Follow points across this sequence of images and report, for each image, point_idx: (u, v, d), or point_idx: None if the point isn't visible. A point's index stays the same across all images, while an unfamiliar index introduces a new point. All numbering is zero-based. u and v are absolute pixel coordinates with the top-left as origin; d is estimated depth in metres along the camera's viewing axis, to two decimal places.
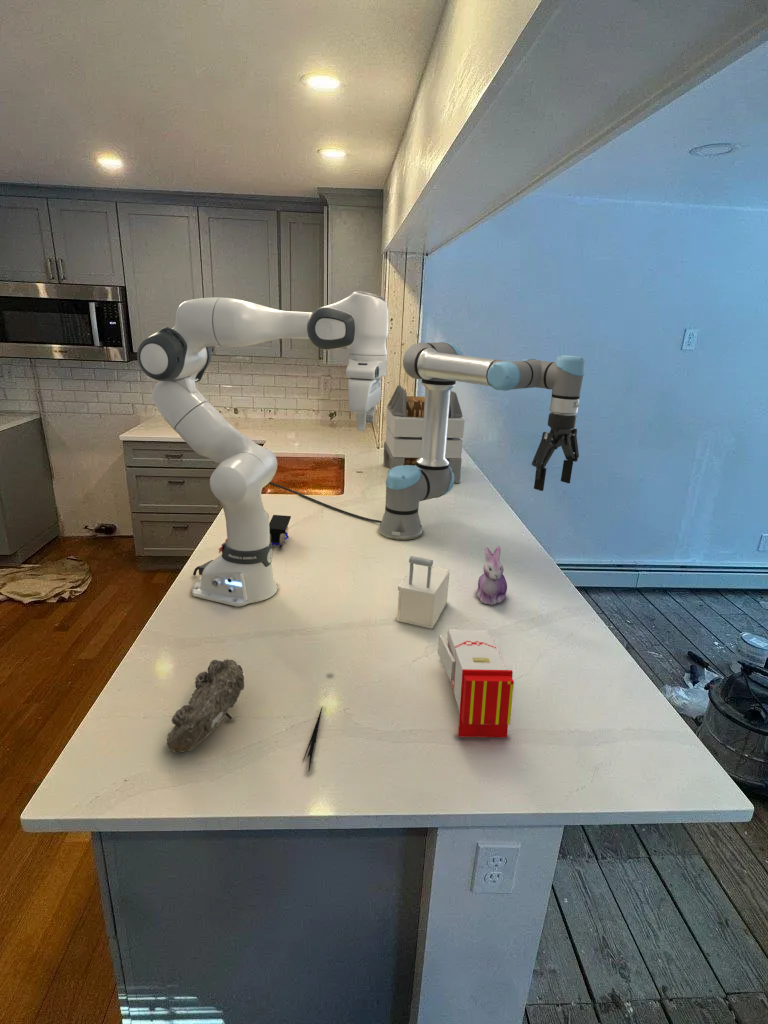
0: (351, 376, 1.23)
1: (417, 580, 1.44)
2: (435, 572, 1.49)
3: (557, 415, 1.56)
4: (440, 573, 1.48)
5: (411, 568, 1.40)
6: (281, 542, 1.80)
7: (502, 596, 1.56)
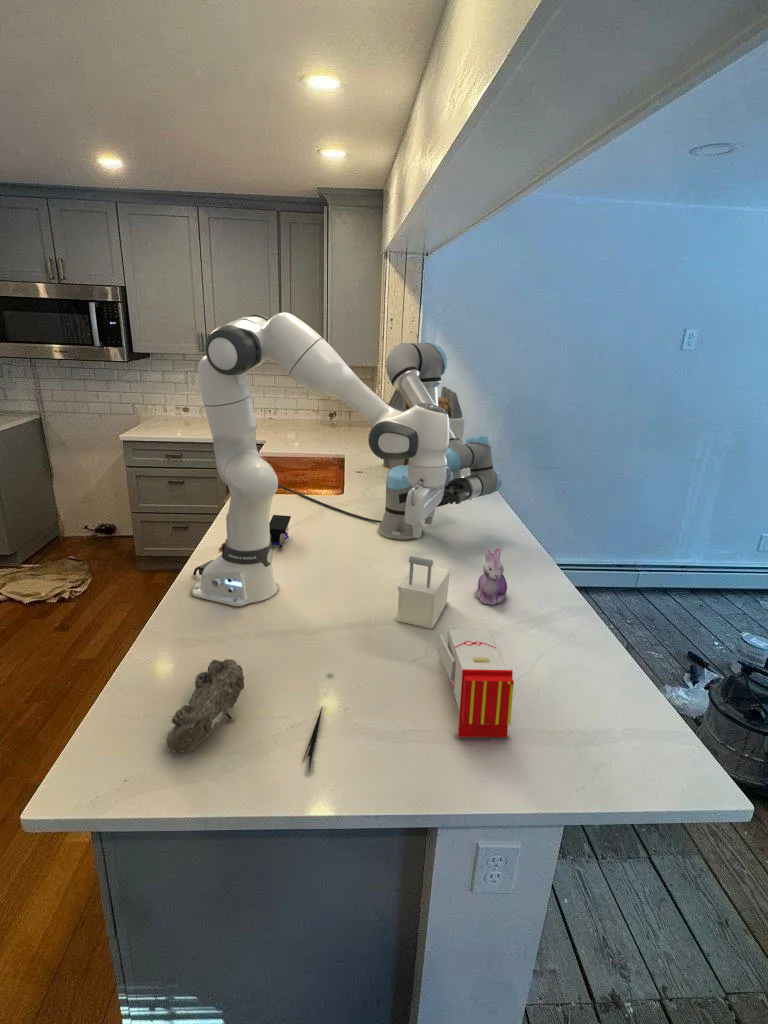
0: None
1: (417, 580, 1.44)
2: (435, 572, 1.49)
3: None
4: (440, 573, 1.48)
5: (411, 568, 1.40)
6: (281, 542, 1.80)
7: (502, 596, 1.56)
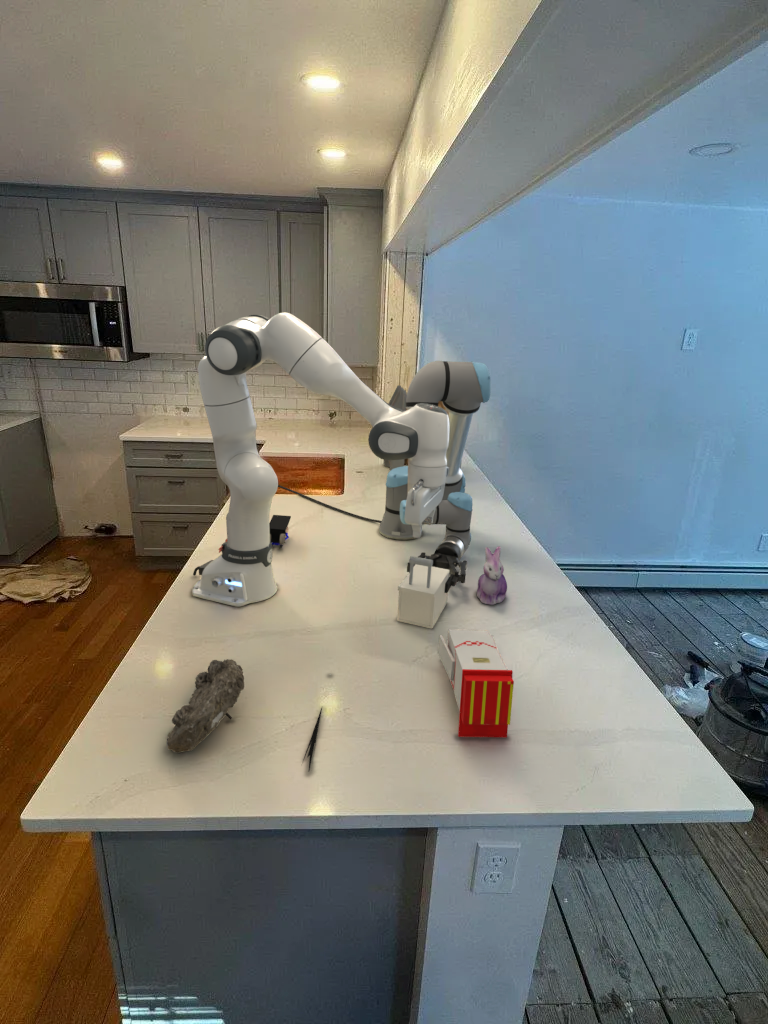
0: None
1: (417, 580, 1.44)
2: (435, 572, 1.49)
3: None
4: (440, 573, 1.48)
5: (411, 568, 1.40)
6: (281, 542, 1.80)
7: (502, 596, 1.56)
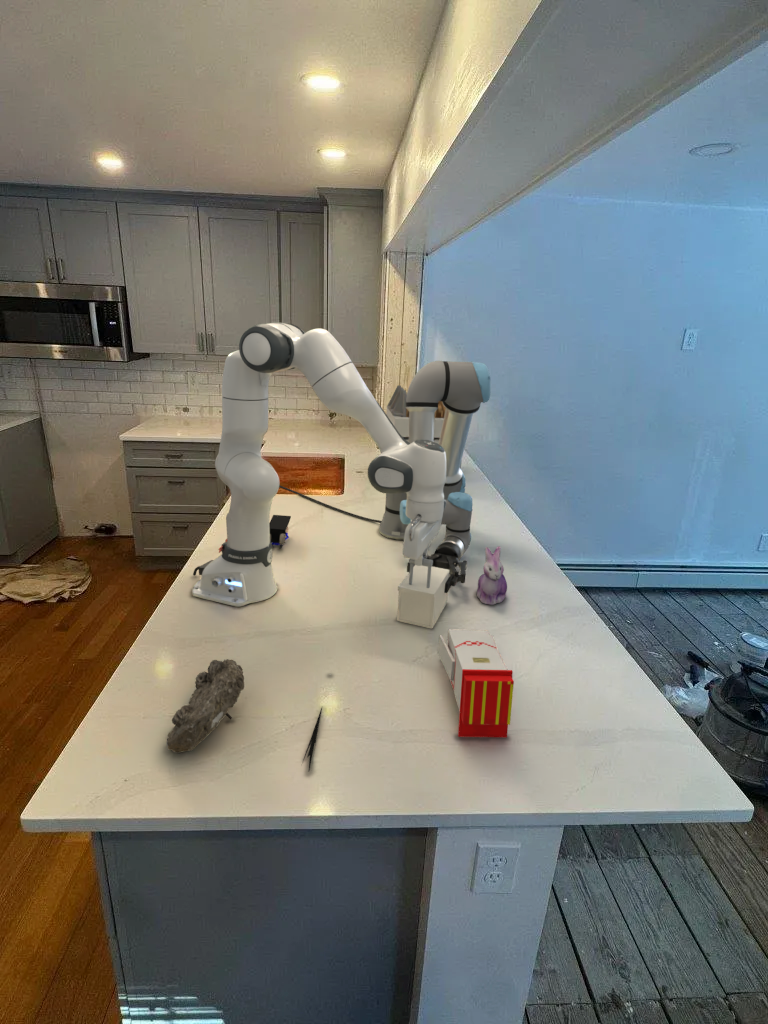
0: None
1: (417, 580, 1.44)
2: (435, 572, 1.49)
3: None
4: (440, 573, 1.48)
5: (411, 568, 1.40)
6: (281, 542, 1.80)
7: (502, 596, 1.56)
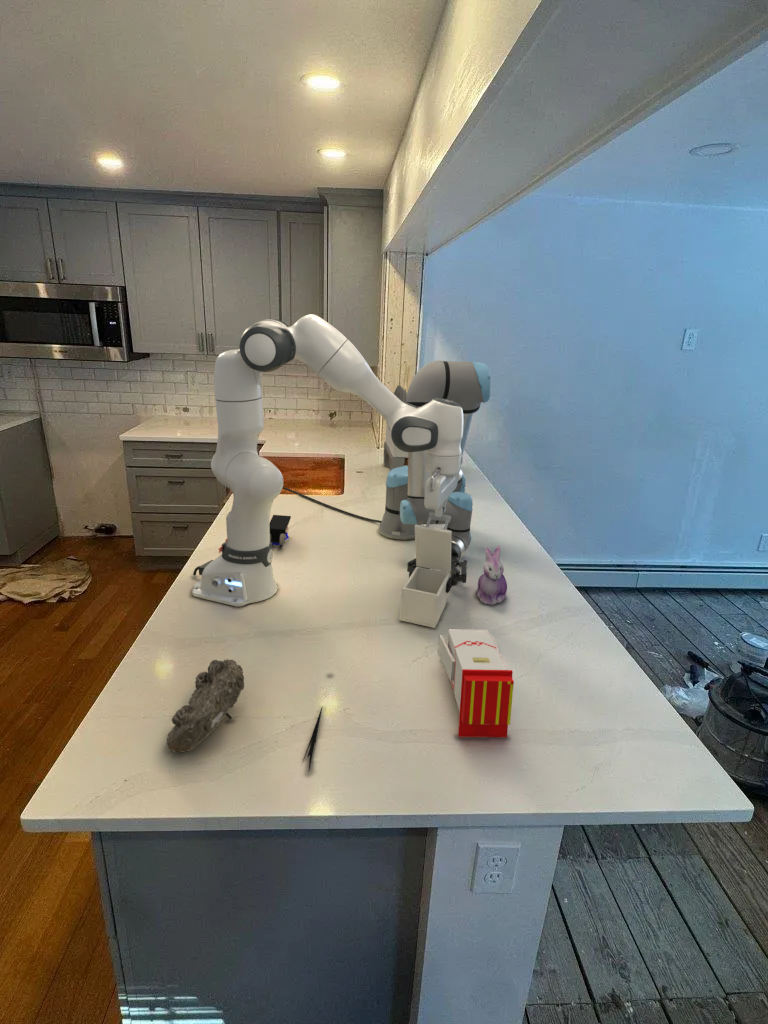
0: None
1: None
2: None
3: None
4: None
5: (429, 520, 1.48)
6: (281, 542, 1.80)
7: (502, 596, 1.56)
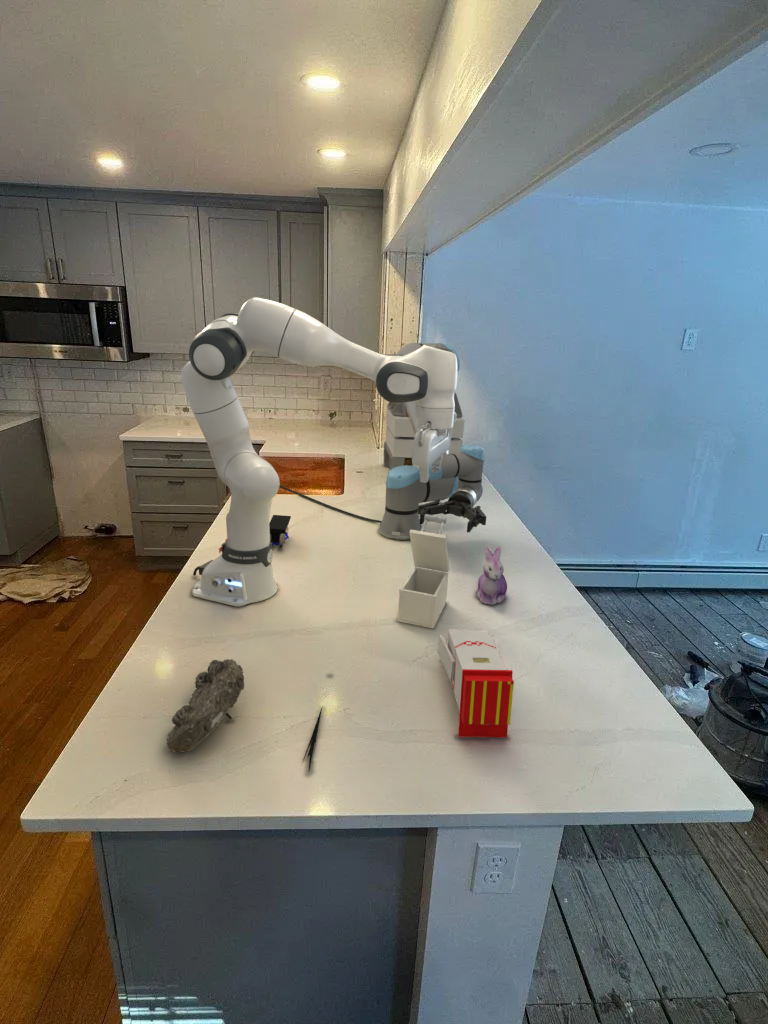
0: None
1: None
2: None
3: None
4: None
5: (424, 523, 1.46)
6: (281, 542, 1.80)
7: (502, 596, 1.56)
